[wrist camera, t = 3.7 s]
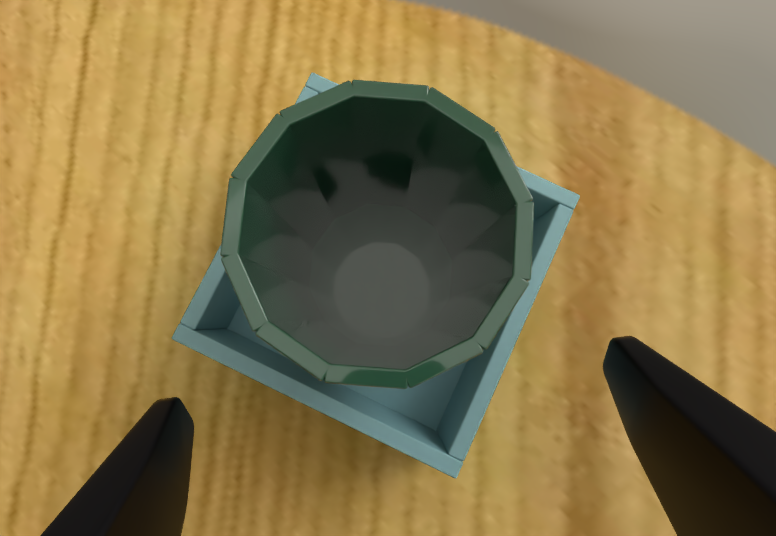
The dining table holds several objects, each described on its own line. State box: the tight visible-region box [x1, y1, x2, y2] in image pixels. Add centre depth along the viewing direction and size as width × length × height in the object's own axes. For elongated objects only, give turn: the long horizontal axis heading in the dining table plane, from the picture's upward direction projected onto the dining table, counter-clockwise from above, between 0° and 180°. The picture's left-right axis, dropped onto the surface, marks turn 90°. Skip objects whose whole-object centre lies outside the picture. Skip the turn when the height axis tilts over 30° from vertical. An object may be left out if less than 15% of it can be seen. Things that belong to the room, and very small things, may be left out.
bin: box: [172, 73, 580, 478], centre depth 18 cm, size 11×11×4 cm
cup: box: [220, 80, 534, 389], centre depth 15 cm, size 7×7×10 cm
